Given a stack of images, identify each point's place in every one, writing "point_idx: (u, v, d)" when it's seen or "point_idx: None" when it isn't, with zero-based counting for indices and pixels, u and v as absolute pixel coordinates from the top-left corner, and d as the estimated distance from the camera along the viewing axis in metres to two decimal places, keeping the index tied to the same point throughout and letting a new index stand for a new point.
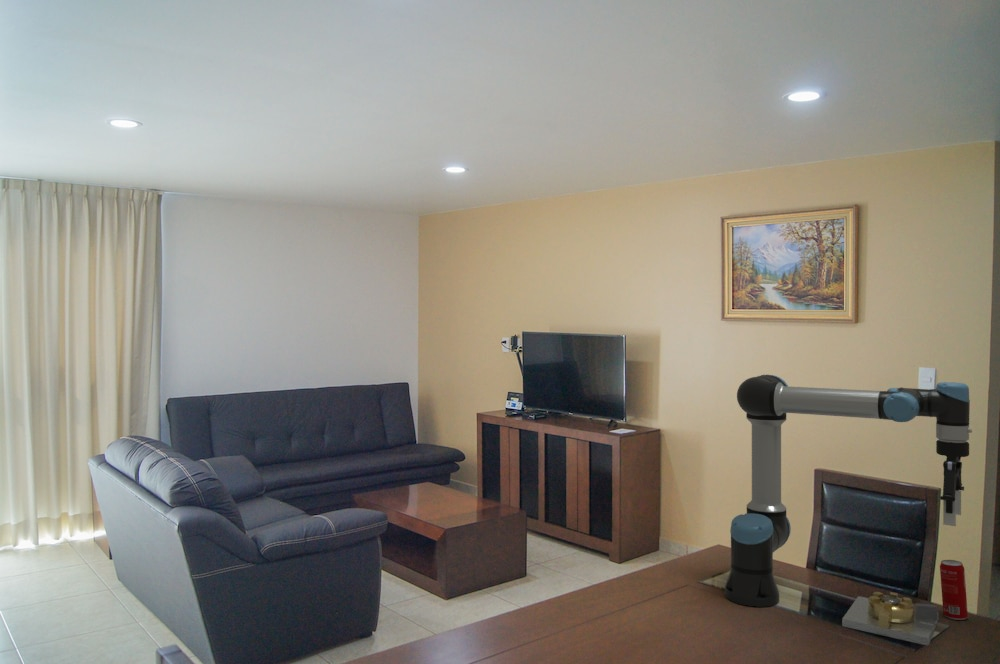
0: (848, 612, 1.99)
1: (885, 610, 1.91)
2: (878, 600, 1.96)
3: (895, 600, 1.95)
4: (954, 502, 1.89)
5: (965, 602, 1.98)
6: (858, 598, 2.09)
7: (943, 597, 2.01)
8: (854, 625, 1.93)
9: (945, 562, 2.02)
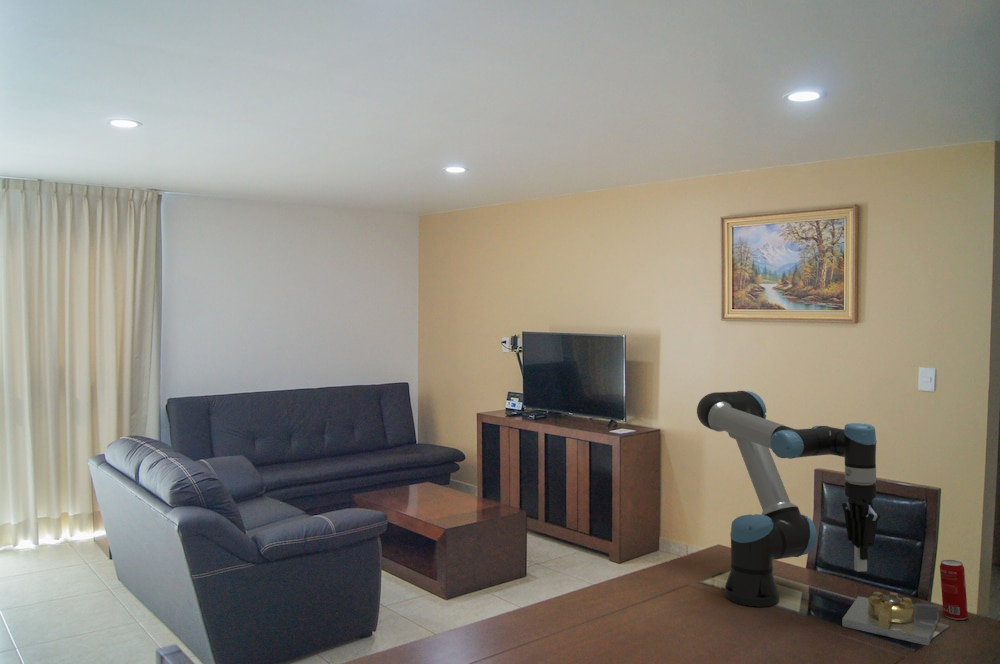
0: (848, 612, 1.99)
1: (885, 610, 1.91)
2: (878, 600, 1.96)
3: (895, 600, 1.95)
4: None
5: (965, 602, 1.98)
6: (858, 598, 2.09)
7: (943, 597, 2.01)
8: (854, 625, 1.93)
9: (945, 562, 2.02)
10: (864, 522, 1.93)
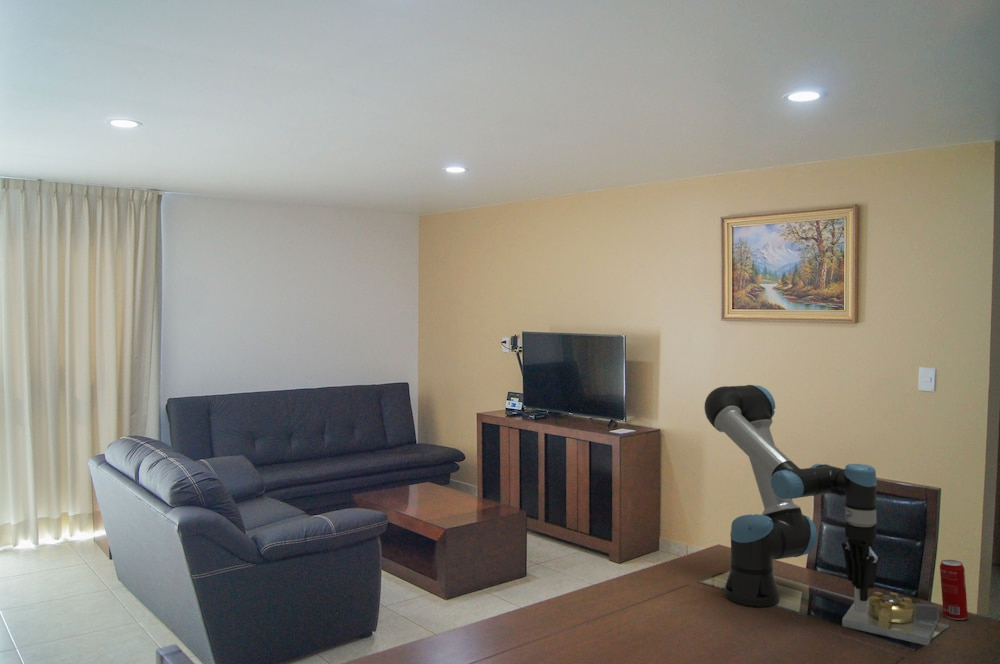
0: (848, 612, 1.99)
1: (885, 610, 1.91)
2: (878, 600, 1.96)
3: (895, 600, 1.95)
4: None
5: (965, 602, 1.98)
6: None
7: (943, 597, 2.01)
8: (854, 625, 1.93)
9: (945, 562, 2.02)
10: (864, 563, 1.93)
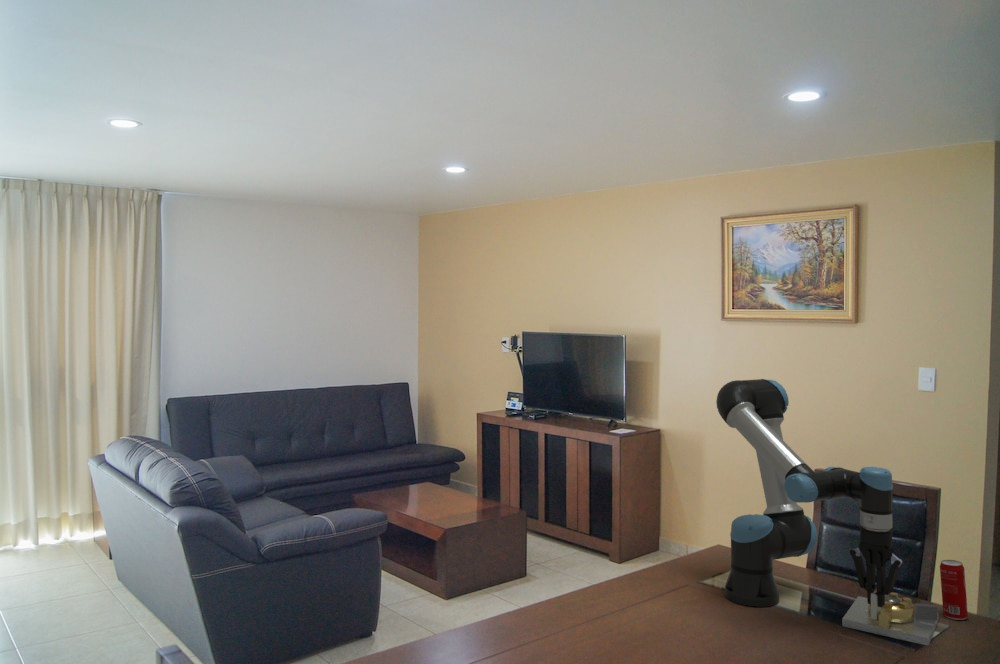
0: (848, 612, 1.99)
1: (885, 610, 1.91)
2: None
3: (895, 600, 1.95)
4: None
5: (965, 602, 1.98)
6: (858, 598, 2.09)
7: (943, 597, 2.01)
8: (854, 625, 1.93)
9: (945, 562, 2.02)
10: (883, 568, 1.89)
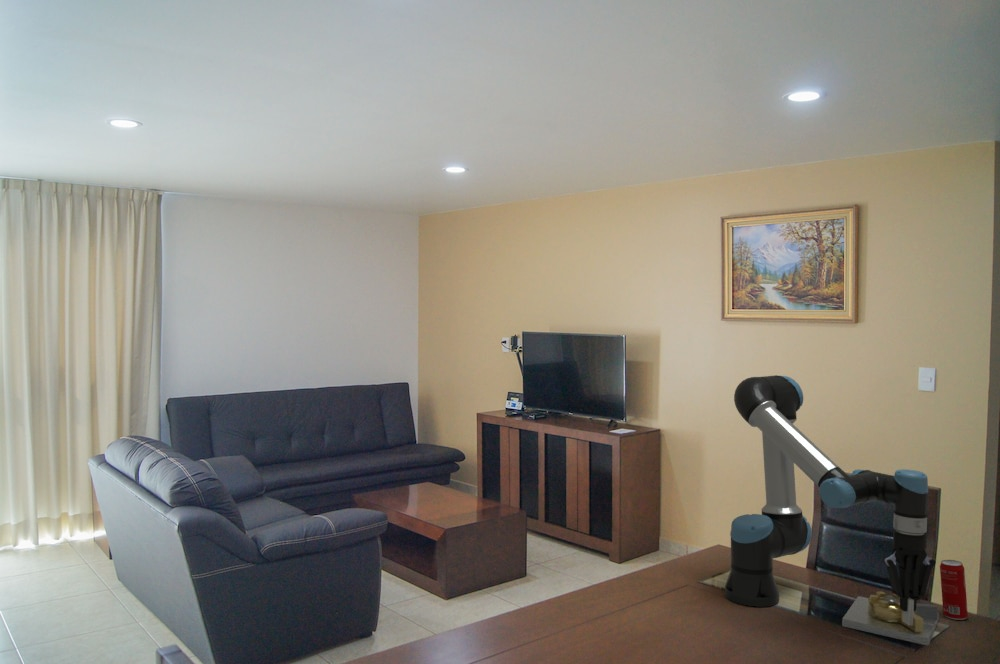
0: (848, 612, 1.99)
1: None
2: (888, 603, 1.94)
3: (896, 599, 1.96)
4: (908, 600, 1.86)
5: (965, 602, 1.98)
6: (858, 598, 2.09)
7: (943, 597, 2.01)
8: (854, 625, 1.93)
9: (945, 562, 2.02)
10: None
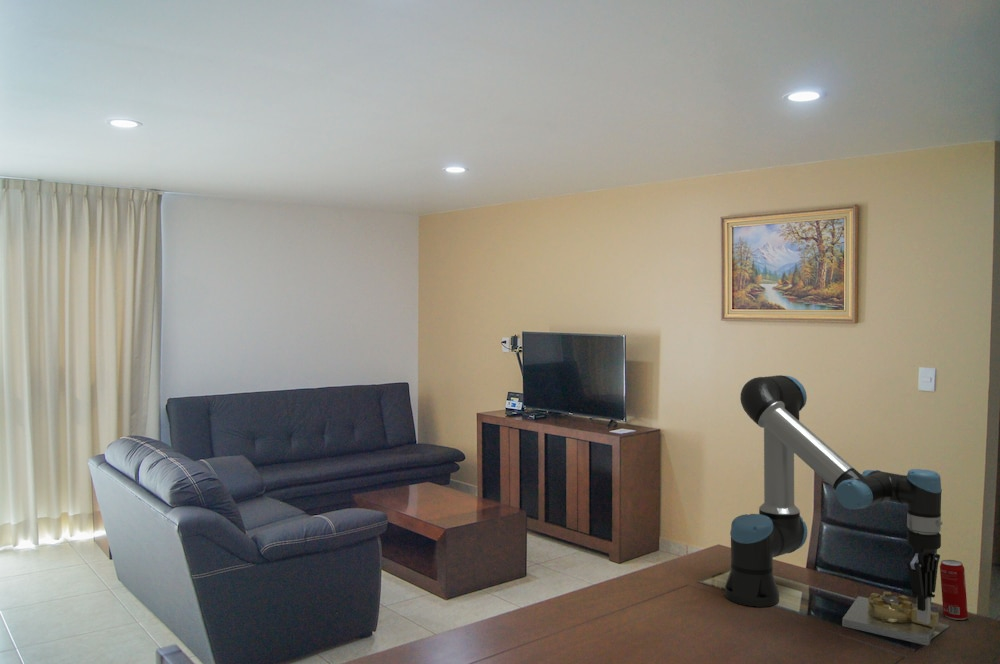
0: (848, 612, 1.99)
1: None
2: None
3: (894, 598, 1.97)
4: (926, 600, 1.87)
5: (965, 602, 1.98)
6: (858, 598, 2.09)
7: (943, 597, 2.01)
8: (854, 625, 1.93)
9: (945, 562, 2.02)
10: None
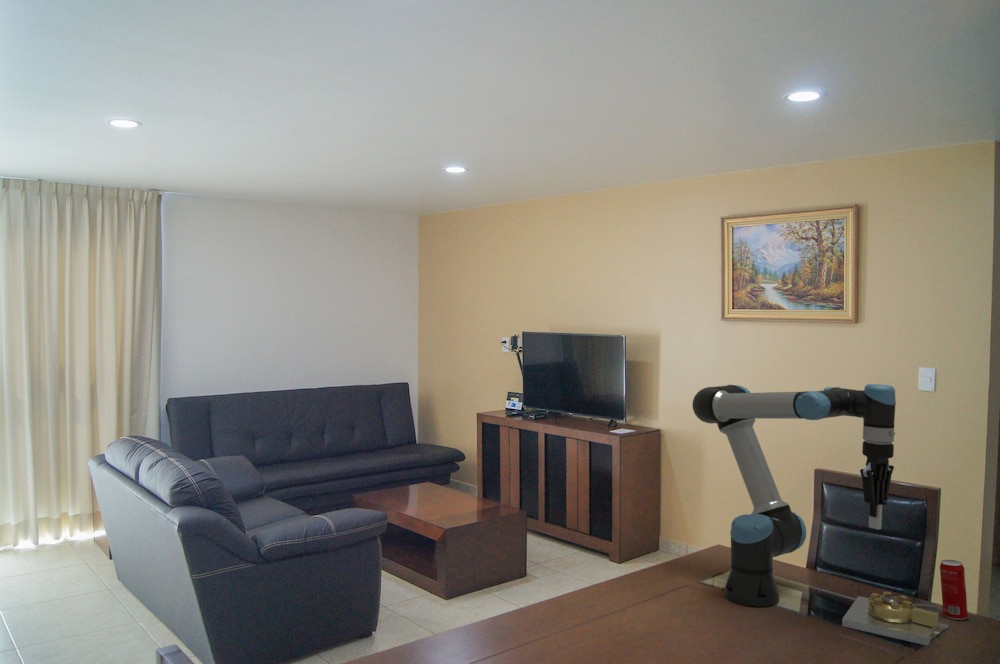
0: (848, 612, 1.99)
1: (918, 609, 1.91)
2: None
3: (894, 598, 1.97)
4: (878, 507, 1.97)
5: (965, 602, 1.98)
6: (858, 598, 2.09)
7: (943, 597, 2.01)
8: (854, 625, 1.93)
9: (945, 562, 2.02)
10: None
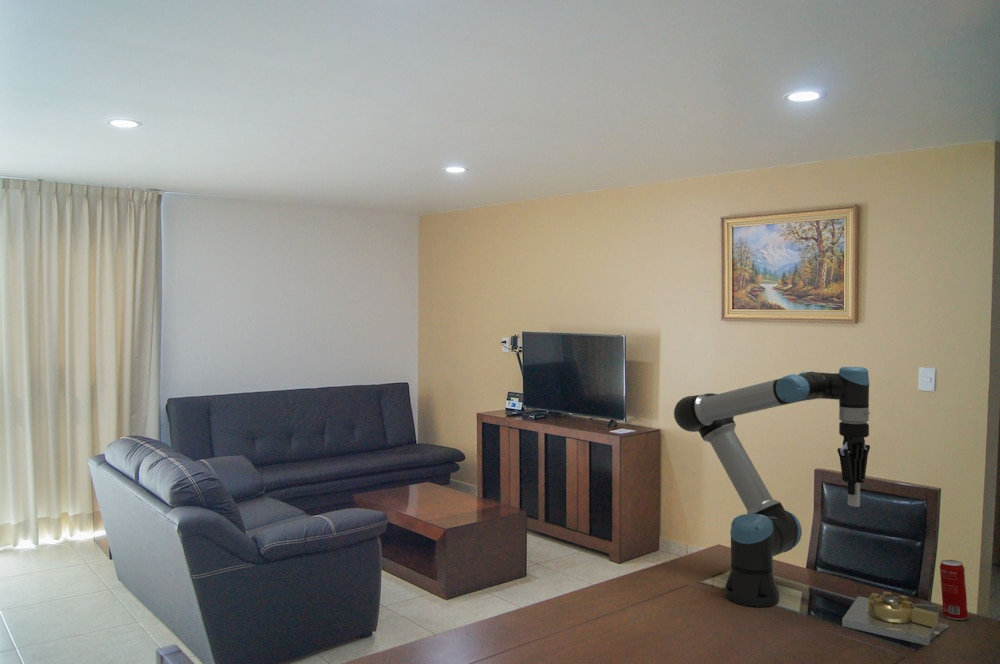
0: (848, 612, 1.99)
1: (918, 609, 1.91)
2: None
3: (894, 598, 1.97)
4: (856, 484, 2.04)
5: (965, 602, 1.98)
6: (858, 598, 2.09)
7: (943, 597, 2.01)
8: (854, 625, 1.93)
9: (945, 562, 2.02)
10: None
